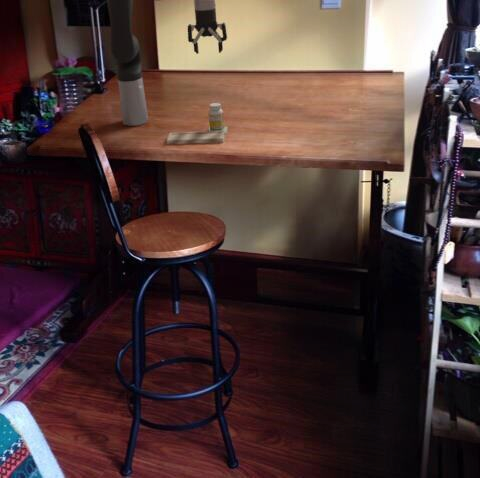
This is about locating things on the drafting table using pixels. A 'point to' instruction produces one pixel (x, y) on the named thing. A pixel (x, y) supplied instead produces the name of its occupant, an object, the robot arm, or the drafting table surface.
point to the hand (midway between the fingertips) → (208, 52)
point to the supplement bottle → (216, 117)
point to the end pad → (223, 130)
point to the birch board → (196, 137)
